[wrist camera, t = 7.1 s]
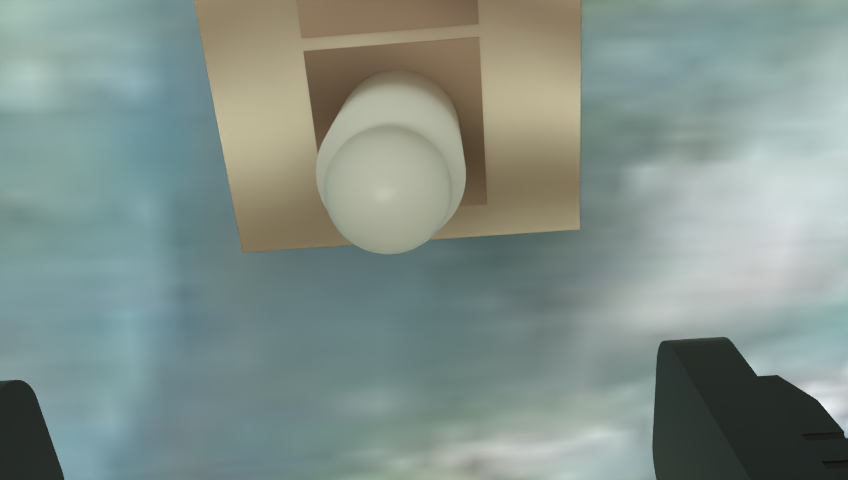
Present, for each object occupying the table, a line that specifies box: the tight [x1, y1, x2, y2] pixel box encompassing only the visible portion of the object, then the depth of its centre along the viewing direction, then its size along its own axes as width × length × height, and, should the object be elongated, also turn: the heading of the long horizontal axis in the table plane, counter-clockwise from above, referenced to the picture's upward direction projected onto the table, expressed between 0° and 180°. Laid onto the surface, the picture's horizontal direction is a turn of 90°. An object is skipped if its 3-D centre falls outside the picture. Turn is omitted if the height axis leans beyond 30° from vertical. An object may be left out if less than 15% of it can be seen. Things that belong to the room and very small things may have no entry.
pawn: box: [316, 70, 466, 254], centre depth 20 cm, size 4×4×8 cm
